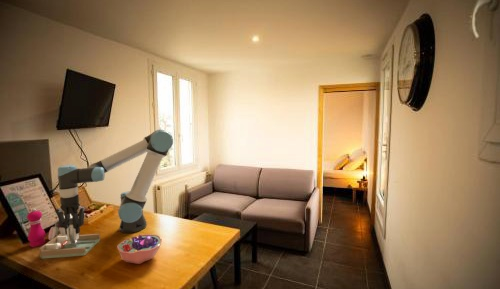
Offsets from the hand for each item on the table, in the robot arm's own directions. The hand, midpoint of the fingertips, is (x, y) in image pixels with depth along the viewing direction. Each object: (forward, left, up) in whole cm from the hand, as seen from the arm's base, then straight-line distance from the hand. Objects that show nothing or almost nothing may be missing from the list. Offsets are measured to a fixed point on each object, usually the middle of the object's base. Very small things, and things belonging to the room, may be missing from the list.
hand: (73, 239), depth 121 cm
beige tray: (+1, 0, -5) cm, 5 cm away
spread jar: (+15, -15, -5) cm, 22 cm away
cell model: (-38, +15, -5) cm, 41 cm away
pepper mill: (+23, -8, -5) cm, 25 cm away
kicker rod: (+1, 0, -4) cm, 4 cm away
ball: (+8, 0, -3) cm, 9 cm away
